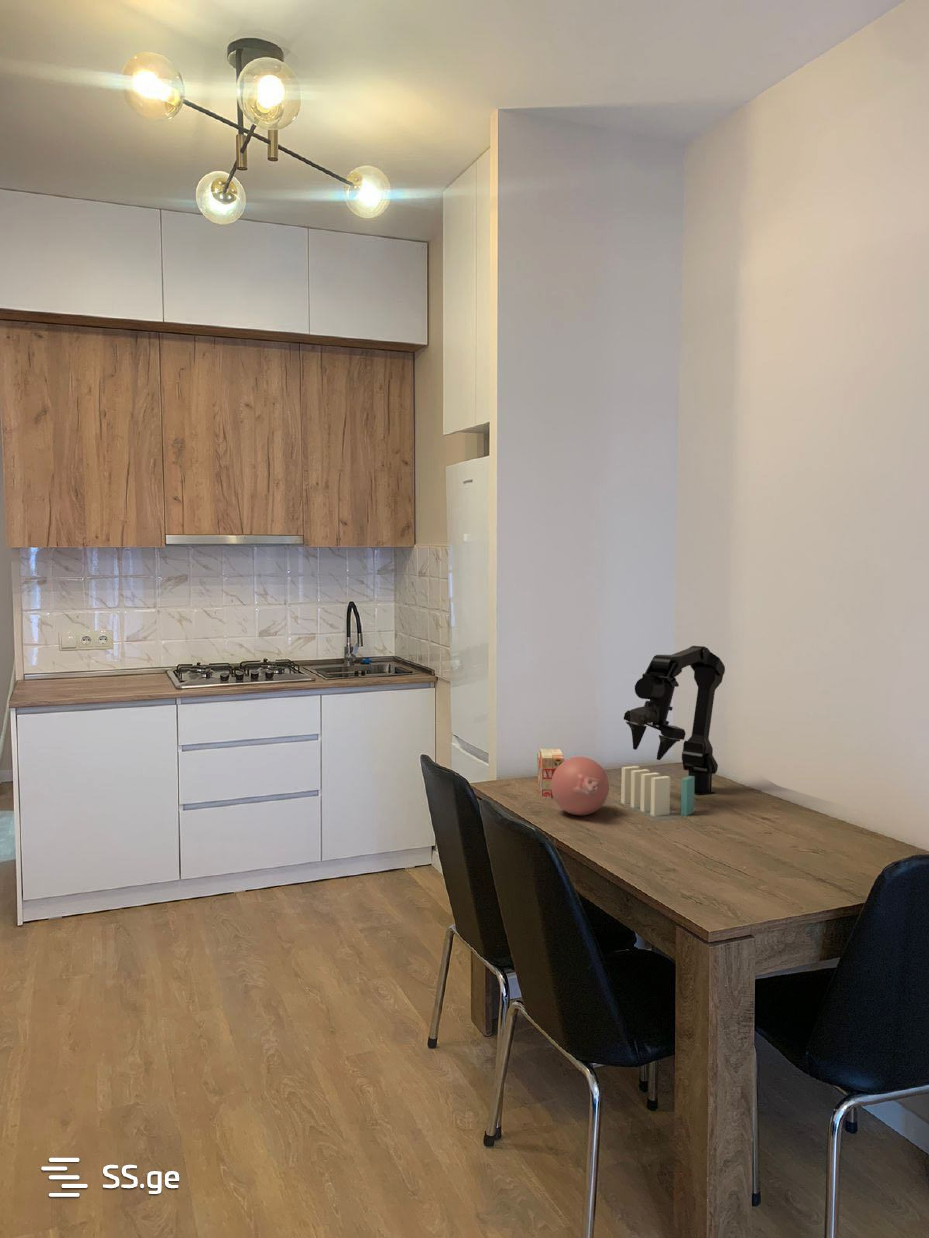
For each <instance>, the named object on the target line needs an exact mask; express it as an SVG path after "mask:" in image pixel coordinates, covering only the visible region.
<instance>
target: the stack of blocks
mask: <svg viewBox="0 0 929 1238" xmlns="http://www.w3.org/2000/svg"><path fill="white" fill-rule="evenodd" d="M536 758H537V759H536V760H537V785H538V784H539V786H538V788H539V787H540V789H539V791H541V793H540V798H541V797H551V798H550V799H554V797H553V795H552V791H551V780H552V776H553V774H554V772H555V770H556V769H557V767H558V766H559V765H560V764H561V763H563V762H564V761H565V757H564V754H563V752H562V751H561V748H539V752H537V757H536Z"/></svg>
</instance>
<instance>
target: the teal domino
mask: <svg viewBox="0 0 929 1238" xmlns="http://www.w3.org/2000/svg"><path fill="white" fill-rule="evenodd" d="M680 781H681V787H680V788H681V789H680V816H685V817H687V816H689V815H692V814H693V813H694V812H695V794H694V782H695V776H688V775H687V776H685V777H683V778H681V779H680Z"/></svg>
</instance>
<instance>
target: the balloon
mask: <svg viewBox="0 0 929 1238" xmlns="http://www.w3.org/2000/svg"><path fill="white" fill-rule="evenodd" d="M551 791H552V795H553V797H554V798H553V799H554V801H555V803H556V805H557V806H558V807H560V809H562V810H563V811H564V812H566V813H568V814H571V815H573V816H587V815H591V814H593V813H595V812H596V811H598V810H599V809H600V808H602V806H603V805H604V804H605V802H606V800H607V796H609V791H610V782H609V777H608V775H607V772H606V771H605V769H604V768H603V767H602V766H601V764H599V763H598V762H597V761H595V760H593V759H592V758H588V757H584V756H573V757H571V758H568V759H565V760H564V762H563V763H561V764H560V765H559V766H558V767H557V769H556V770H555V772H554V774H553V776H552V780H551Z"/></svg>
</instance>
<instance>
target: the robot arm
mask: <svg viewBox="0 0 929 1238" xmlns="http://www.w3.org/2000/svg"><path fill="white" fill-rule="evenodd" d="M688 666H690V668H691V669H692V671H693V678H694V681H695V684H696V685H697V692H696V693H697V694H696V701H695V702H696V703H695V709H694V715H693V723H692V731H691V735H690V737H689V738H688V740H685V737H686V734H687V733H686V731H685V729H684V728H682V727H679V726H677V725H671V724H669V723H670V721H668V720H667V718H668V716H669V711H670V712H671V711H673V709H674V708H673V706H671V703H672V700H673V696H674V692H675V689H676V688H678V687H679V686H680V685H679V682H678V681H677V678H676V677H677V676H679V675H680V674H681V673H682V672H683V669H685V668H686V667H688ZM725 671H726V668H725V664H724V663H723V662H722V660H721V658H720V657H719V656H718V655H716V654H714V653H713V652H711V650H710V649H709V648H708V647H706V646H702V645H691V646H689V648H686V649H683V650H681V651H678V652H676V653H675V652H674V653H673V654H656V655H654V656H653V657H652V659H651V660H650V663H649V665H648V667H647V668H646V670H645V673H642V675H641V676H642V677H641V678H639V679H638V680H637V681H636V683H635V684H634V693H635V695H636V696H637V697H638V698H640V699H641V700H645V702H644V705H643V706H638V707H635V708H632V709H630V710H627V711H625V712H624V716H623V720H624V721H625V722H626V724H627V725H628V726H629V728H630V730H631V737H632V738H631V739H632V749H633V750H634V751H637V750H638V748H639V746H640V743H641V741H642V739H643V737H644V734H645V733H646V729H647V727H651V728H653V729H655V730H658V731H660V734H658V737H659V744H658V745H659V746H658V750H657V754H656V760H657V761H660V760H662V758H664V756H665V755H666V754H667V753H668V752H669V750H670V749H671V748H672V747H673V746H674V745H675V744H676V743H677V742H680V741H682V740H683V741H684V742H683V746H682V747H683V748H682V752H681V761H682V766H683V767H682V768H683V770H684V771H688V775H687V776H695V782H694V795H707V794H715V793H716V791H715V790H713V789H712V784H713V783H712V782H713V781H712V780H713V775H716V773H718V768H719V764H718V763H717V761H716V758H714V757H715V756H714V755H713V753H714V751H713V746H712V744H711V741H710V739H709V738H710V737H709V736H710V731H711V722H712V714H713V709H714V708H713V707H714V700H715V692H716V690H717V688H718V687H719V686H720V685H721V684H722V681H723V677H724V674H725ZM675 687H676V688H675Z"/></svg>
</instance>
